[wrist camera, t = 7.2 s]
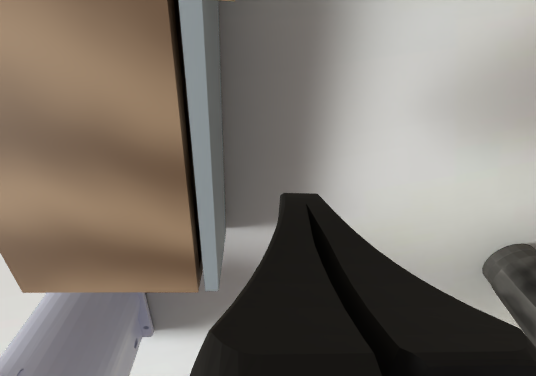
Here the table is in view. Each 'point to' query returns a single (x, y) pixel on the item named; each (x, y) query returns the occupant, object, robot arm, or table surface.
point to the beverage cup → (515, 284)
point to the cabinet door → (206, 127)
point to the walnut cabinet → (96, 148)
